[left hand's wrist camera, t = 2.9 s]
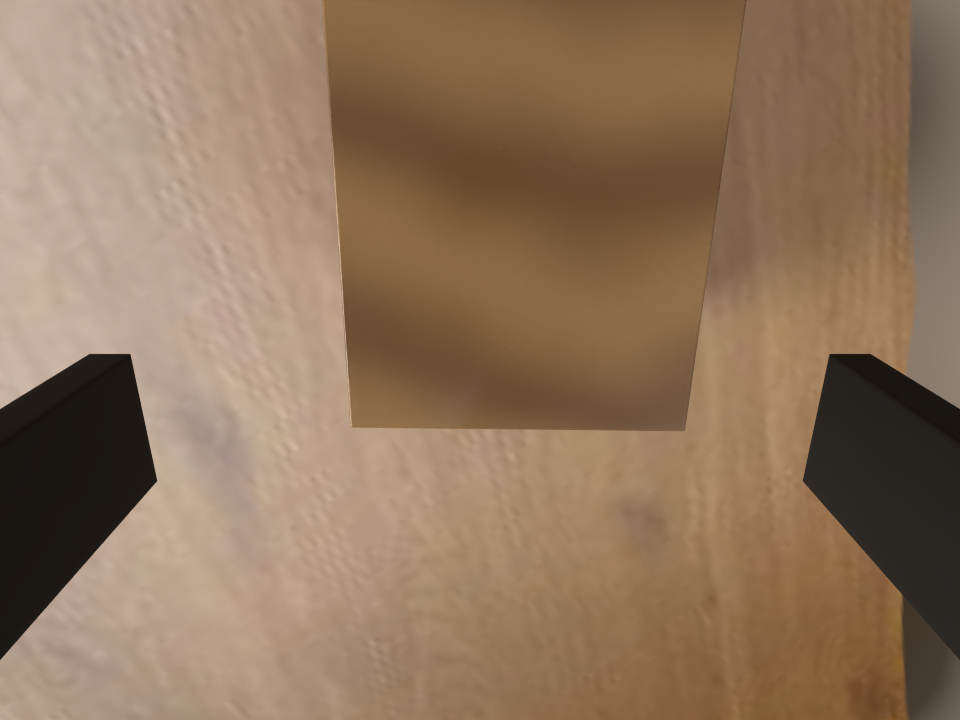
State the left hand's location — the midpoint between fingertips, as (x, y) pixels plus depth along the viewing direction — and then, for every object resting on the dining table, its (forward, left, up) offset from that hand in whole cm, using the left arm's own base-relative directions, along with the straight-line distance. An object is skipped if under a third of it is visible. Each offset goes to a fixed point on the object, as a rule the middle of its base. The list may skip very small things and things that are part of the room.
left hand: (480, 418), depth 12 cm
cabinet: (+4, -2, -19) cm, 20 cm away
